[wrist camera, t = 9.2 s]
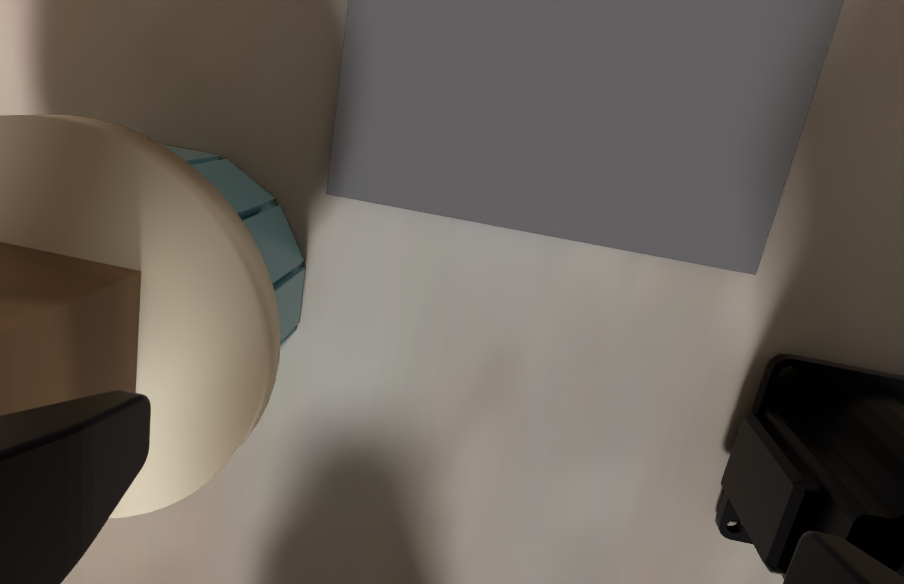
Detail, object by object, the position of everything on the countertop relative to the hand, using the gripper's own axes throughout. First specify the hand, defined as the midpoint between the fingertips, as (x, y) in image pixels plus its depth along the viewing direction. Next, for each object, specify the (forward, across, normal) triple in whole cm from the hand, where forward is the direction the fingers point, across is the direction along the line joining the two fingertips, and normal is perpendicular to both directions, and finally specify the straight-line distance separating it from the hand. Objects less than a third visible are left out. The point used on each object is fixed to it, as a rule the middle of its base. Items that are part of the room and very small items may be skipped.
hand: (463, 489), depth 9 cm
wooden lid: (+7, +10, +2) cm, 12 cm away
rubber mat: (+12, -1, -8) cm, 14 cm away
